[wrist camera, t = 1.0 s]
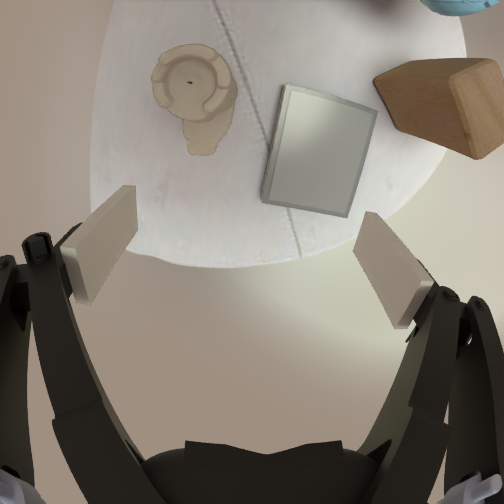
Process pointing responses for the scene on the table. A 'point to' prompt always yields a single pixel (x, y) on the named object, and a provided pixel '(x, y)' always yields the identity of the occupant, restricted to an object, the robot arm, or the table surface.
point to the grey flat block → (317, 152)
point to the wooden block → (448, 102)
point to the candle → (196, 93)
